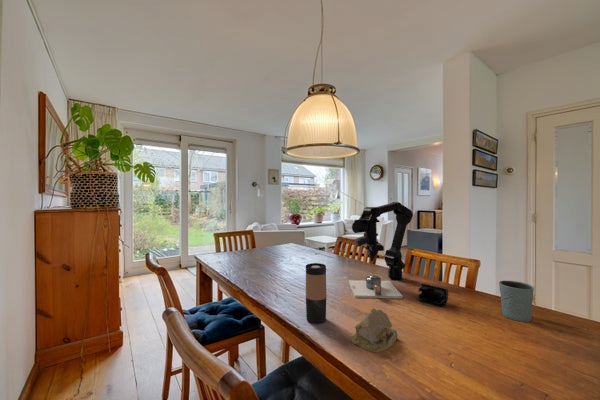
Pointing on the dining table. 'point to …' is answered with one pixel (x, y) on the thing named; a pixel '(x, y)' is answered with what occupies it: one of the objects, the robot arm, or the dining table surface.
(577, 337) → the dining table surface
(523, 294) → the green cup
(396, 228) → the robot arm
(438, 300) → the end cap
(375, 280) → the lever
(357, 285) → the plate
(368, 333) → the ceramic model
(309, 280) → the travel mug
